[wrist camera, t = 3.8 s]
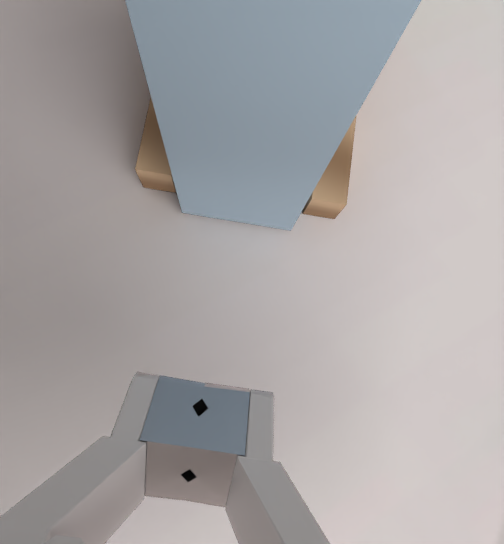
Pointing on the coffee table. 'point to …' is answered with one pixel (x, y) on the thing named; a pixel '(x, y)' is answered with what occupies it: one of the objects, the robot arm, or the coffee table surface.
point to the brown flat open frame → (321, 203)
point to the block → (259, 94)
